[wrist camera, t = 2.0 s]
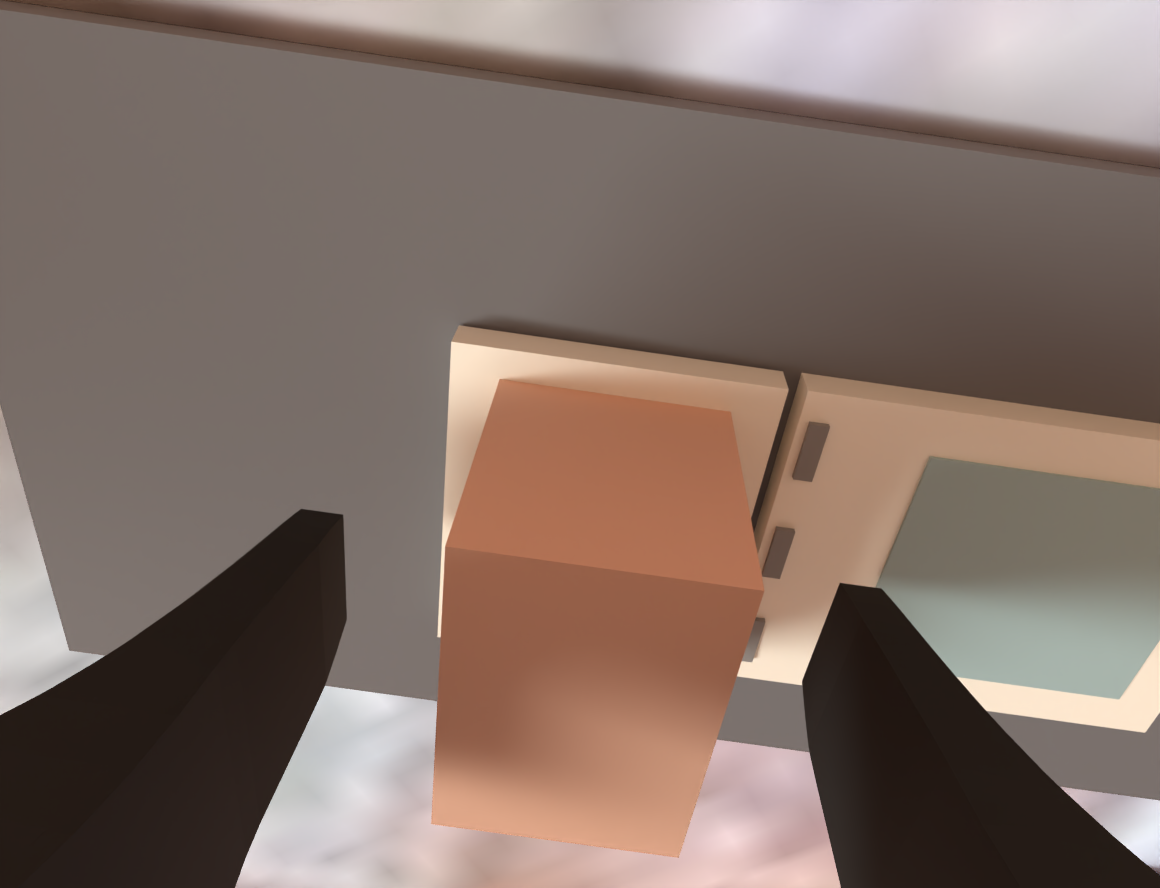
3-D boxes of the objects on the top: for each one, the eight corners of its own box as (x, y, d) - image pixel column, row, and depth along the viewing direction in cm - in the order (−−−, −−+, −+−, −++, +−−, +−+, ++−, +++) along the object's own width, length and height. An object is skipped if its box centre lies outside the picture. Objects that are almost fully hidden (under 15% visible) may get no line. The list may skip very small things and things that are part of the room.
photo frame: (1312, 445, 13) (1345, 470, 12) (1128, 707, 16) (1147, 737, 15) (801, 372, 13) (810, 394, 12) (718, 650, 16) (721, 678, 15)
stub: (782, 371, 13) (846, 565, 9) (703, 650, 16) (724, 884, 12) (459, 325, 13) (376, 499, 9) (444, 614, 16) (378, 838, 12)
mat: (1558, 226, 12) (1614, 244, 11) (1146, 768, 18) (1166, 801, 17) (-71, -10, 11) (-116, -8, 11) (91, 623, 18) (69, 650, 17)
